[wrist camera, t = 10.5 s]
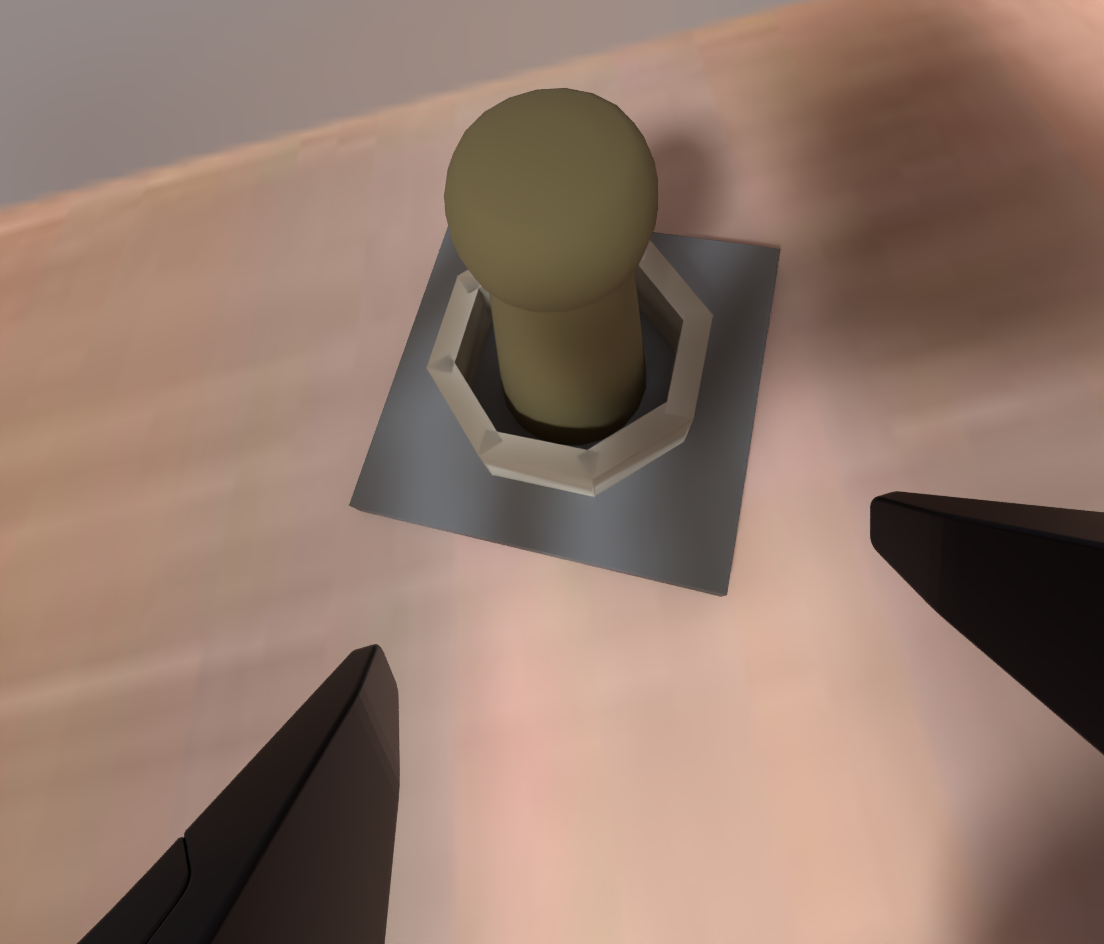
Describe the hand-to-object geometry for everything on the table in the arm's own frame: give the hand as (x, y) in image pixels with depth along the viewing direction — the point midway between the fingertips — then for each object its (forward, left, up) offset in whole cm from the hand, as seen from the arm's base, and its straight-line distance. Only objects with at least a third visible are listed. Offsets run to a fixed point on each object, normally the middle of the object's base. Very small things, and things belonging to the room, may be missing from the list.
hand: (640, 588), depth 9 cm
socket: (+4, -9, -11) cm, 15 cm away
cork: (+4, -9, -11) cm, 14 cm away
